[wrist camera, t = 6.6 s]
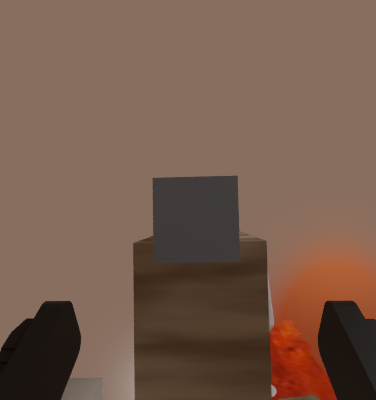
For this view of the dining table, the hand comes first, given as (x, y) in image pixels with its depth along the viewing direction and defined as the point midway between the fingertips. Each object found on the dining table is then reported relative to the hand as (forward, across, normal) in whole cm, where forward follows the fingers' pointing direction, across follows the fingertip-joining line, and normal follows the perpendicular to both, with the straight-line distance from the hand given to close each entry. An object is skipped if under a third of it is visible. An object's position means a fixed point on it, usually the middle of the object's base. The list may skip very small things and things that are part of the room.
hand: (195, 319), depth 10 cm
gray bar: (+16, 0, +8) cm, 18 cm away
